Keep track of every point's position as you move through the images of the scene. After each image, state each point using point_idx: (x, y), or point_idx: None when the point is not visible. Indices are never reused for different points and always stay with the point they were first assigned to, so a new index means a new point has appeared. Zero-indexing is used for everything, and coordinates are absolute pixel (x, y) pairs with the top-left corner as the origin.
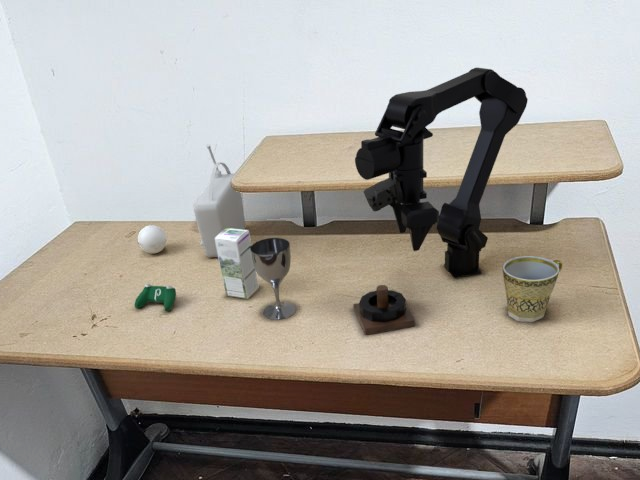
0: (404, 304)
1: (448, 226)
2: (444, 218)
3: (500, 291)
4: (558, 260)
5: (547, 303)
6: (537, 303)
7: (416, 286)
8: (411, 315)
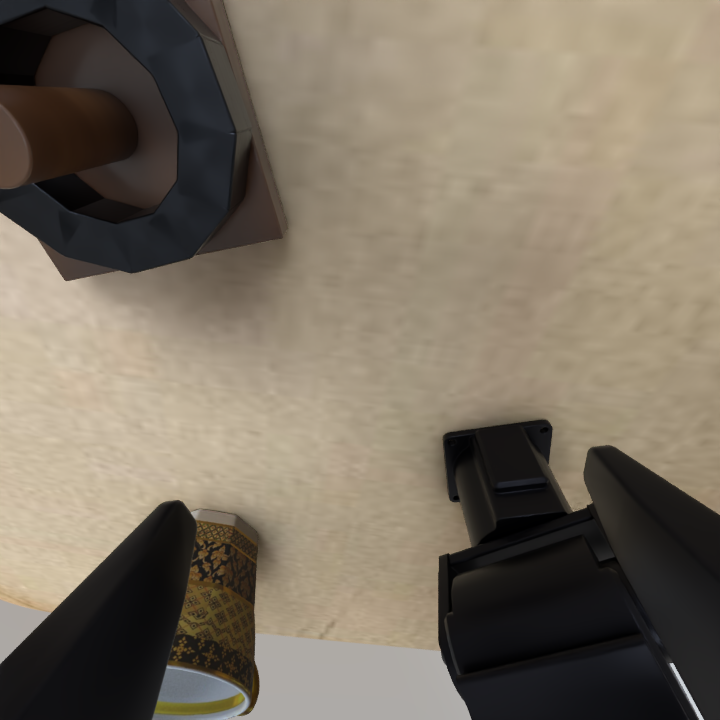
0: (82, 260)
1: (539, 645)
2: (604, 684)
3: (335, 512)
4: (241, 715)
5: None
6: None
7: (420, 311)
8: (99, 271)
